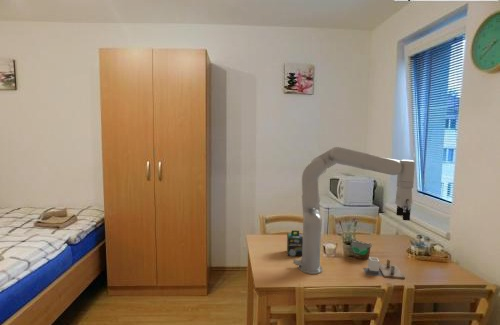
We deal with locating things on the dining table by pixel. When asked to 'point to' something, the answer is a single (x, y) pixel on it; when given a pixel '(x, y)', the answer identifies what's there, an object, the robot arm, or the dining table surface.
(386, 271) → the pinboard
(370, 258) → the sleeve
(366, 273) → the mat
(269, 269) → the dining table surface
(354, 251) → the food container
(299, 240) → the chalk box
